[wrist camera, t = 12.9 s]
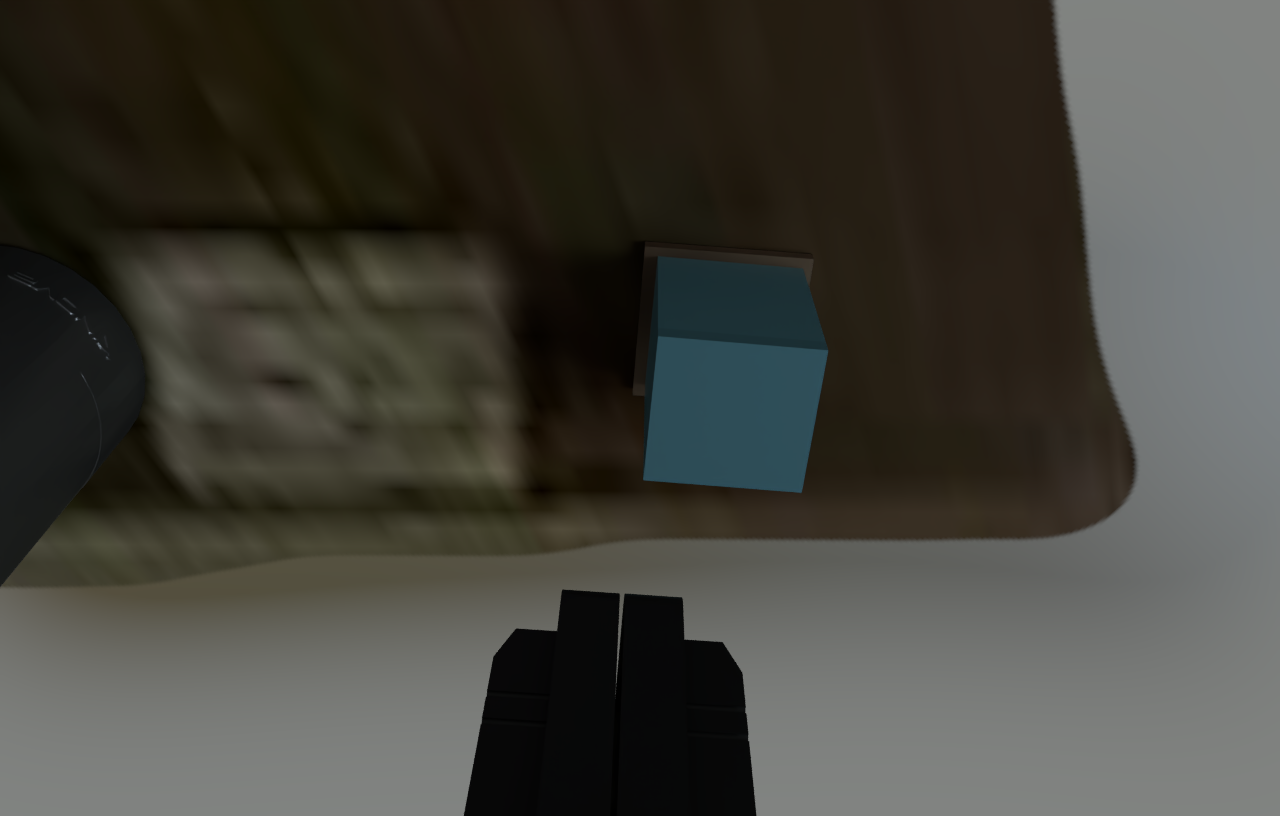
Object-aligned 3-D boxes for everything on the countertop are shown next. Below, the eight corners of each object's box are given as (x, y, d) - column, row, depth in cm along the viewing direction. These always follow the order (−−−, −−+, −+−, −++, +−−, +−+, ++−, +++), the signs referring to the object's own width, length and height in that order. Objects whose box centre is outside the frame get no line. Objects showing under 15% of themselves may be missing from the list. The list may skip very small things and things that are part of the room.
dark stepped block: (788, 400, 43) (808, 493, 37) (632, 388, 43) (629, 481, 37) (811, 254, 40) (837, 331, 34) (645, 241, 40) (643, 316, 34)
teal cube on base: (781, 396, 42) (801, 492, 36) (645, 385, 42) (643, 480, 36) (803, 268, 40) (828, 350, 34) (657, 256, 40) (658, 336, 34)
